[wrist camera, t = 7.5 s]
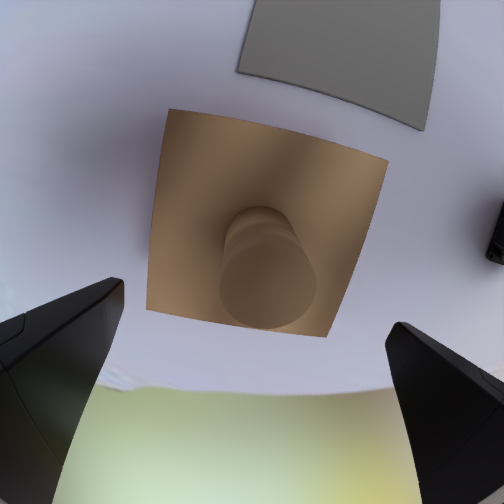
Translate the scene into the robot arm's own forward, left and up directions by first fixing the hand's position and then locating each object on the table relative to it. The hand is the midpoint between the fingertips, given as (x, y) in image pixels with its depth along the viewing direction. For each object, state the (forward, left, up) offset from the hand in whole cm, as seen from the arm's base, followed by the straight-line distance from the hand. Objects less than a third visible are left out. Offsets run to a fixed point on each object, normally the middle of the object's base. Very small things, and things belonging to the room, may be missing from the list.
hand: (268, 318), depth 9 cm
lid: (0, 0, -8) cm, 8 cm away
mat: (-4, -16, -13) cm, 21 cm away
